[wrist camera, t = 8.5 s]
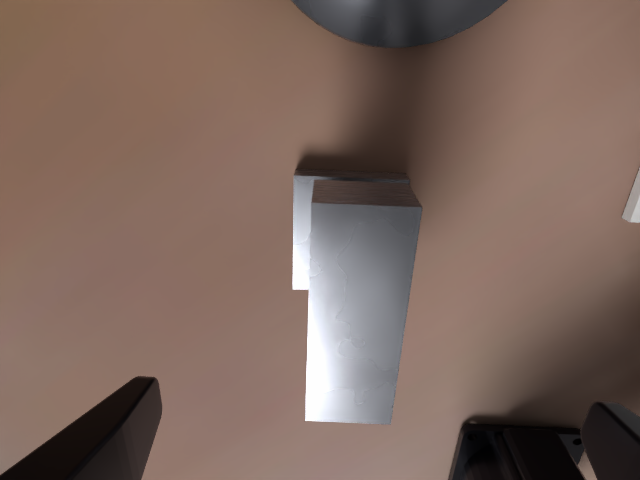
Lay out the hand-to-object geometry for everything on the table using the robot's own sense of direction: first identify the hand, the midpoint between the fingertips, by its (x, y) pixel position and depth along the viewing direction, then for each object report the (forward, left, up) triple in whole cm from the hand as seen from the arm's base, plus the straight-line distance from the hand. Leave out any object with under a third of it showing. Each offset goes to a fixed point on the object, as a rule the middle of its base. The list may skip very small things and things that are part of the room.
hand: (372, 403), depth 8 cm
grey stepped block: (0, 0, -10) cm, 10 cm away
